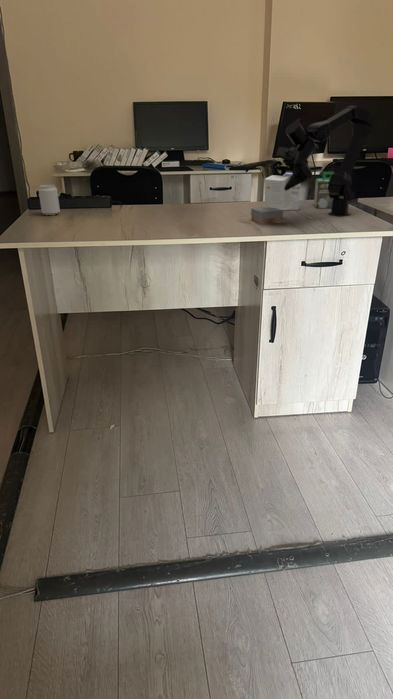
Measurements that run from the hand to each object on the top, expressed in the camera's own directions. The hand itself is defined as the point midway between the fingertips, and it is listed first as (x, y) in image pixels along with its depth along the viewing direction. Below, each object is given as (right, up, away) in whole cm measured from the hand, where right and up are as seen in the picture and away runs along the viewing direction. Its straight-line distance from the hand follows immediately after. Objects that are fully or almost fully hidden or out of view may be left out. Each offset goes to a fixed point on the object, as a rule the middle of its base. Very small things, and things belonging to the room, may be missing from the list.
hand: (276, 188), depth 185 cm
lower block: (-2, -10, +12) cm, 15 cm away
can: (-91, -2, +30) cm, 96 cm away
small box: (+1, -6, +4) cm, 7 cm away
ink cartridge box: (+10, +2, +34) cm, 35 cm away
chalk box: (+27, +4, +38) cm, 47 cm away
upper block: (-2, -7, +11) cm, 13 cm away
